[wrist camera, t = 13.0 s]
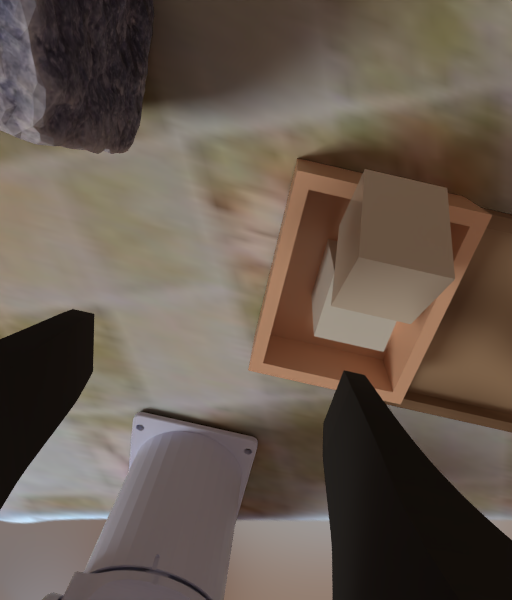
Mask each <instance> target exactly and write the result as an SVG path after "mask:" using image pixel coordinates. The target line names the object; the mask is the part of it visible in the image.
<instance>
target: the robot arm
mask: <svg viewBox="0 0 512 600" xmlns="http://www.w3.org/2000/svg"><path fill="white" fill-rule="evenodd" d="M93 345H94V314H92V313H88V312H83V311H79V310H74V309H72V310H69V311H67V312H64V313H61V314H59V315H57V316H54V317H52V318H49V319H47V320H45V321H42V322H40V323H38V324H36V325H33V326H31V327H28V328H26V329H24V330H21V331H19V332H17V333H14V334H12V335H10V336H7V337H5V338H2V339H0V509H1V508H2V506H3V504H4V503H5V501H6V499H7V498H8V496H9V494H10V493H11V491H12V490H13V488H14V486H15V485H16V483H17V481H18V480H19V479H20V477H21V476H22V474H23V473H24V471H25V470H26V468H27V467H28V466H29V464H30V463H31V462H32V460H33V459H34V458H35V456H36V455H37V454H38V452H39V451H40V450H41V448H42V447H43V446H44V444H45V443H46V442H47V440H48V439H49V438H50V436H51V435H52V434H53V432H54V431H55V430H56V428H57V427H58V426H59V424H60V423H61V422H62V420H63V419H64V418H65V416H66V415H67V414H68V412H69V411H70V409H71V408H72V407H73V405H74V404H75V403H76V401H77V399H78V398H79V396H80V394H81V392H82V391H83V389H84V387H85V385H86V383H87V382H88V380H89V378H90V376H91V374H92V372H93ZM140 425H143V426H140ZM257 446H258V441H257V439H256V438H255V437H252V436H248V435H243V434H239V433H234V432H230V431H225V430H221V429H217V428H212V427H208V426H203V425H199V424H194V423H190V422H185V421H181V420H176V419H172V418H167V417H163V416H158V415H154V414H149V413H145V412H138V413H136V414H135V416H134V419H133V427H132V439H131V450H130V462H129V472H128V474H127V476H126V479H125V481H124V483H123V485H122V488H121V490H120V492H119V494H118V496H117V499H116V501H115V503H114V505H113V508H112V510H111V512H110V514H109V516H108V519H107V521H106V523H105V525H104V528H103V530H102V532H101V534H100V536H99V539H98V541H97V543H96V545H95V548H94V550H93V552H92V554H91V557H90V559H89V561H88V563H87V566H86V568H85V570H84V572H75V573H74V575H73V577H72V579H71V581H70V583H69V586H68V588H67V590H66V592H65V594H64V595H61V594H57V593H50V594H48V595H47V596H45V597H44V598H43V599H42V600H224V593H225V587H226V581H227V574H228V567H229V560H230V554H231V547H232V540H233V534H234V527H235V523H236V520H237V516H238V513H239V509H240V506H241V502H242V499H243V495H244V492H245V488H246V485H247V482H248V478H249V475H250V471H251V468H252V464H253V461H254V457H255V454H256V450H257ZM247 449H251V450H247ZM323 464H324V474H325V483H326V493H327V502H328V511H329V520H330V530H331V541H332V569H333V570H332V571H333V572H332V573H333V575H332V578H333V579H332V581H333V600H512V540H511V539H510V538H509V537H507V536H506V535H505V534H504V533H503V532H502V531H500V530H499V529H498V528H497V527H496V526H495V525H494V524H493V523H491V522H490V521H489V520H488V519H487V518H486V517H485V516H484V515H483V514H482V513H480V512H479V511H478V510H477V509H476V508H475V507H474V506H473V505H472V504H471V503H470V502H469V501H468V500H467V499H466V498H465V497H464V496H463V495H462V494H461V493H460V492H459V491H458V490H457V489H456V488H455V487H454V486H453V485H452V484H451V483H450V482H449V481H448V480H447V479H446V478H445V477H444V476H443V475H442V474H441V473H440V472H439V470H438V469H437V468H436V467H435V466H434V465H433V464H432V463H431V462H430V460H429V459H428V458H427V457H426V456H425V454H424V453H423V452H422V451H421V450H420V448H419V447H418V446H417V445H416V444H415V442H414V441H413V440H412V439H411V437H410V436H409V435H408V434H407V432H406V431H405V430H404V428H403V427H402V426H401V424H400V423H399V422H398V420H397V419H396V418H395V416H394V415H393V414H392V412H391V411H390V409H389V408H388V407H387V405H386V404H385V402H384V401H383V400H382V398H381V397H380V395H379V394H378V393H377V391H376V390H375V388H374V387H373V385H372V384H371V383H370V381H369V380H368V378H367V377H366V376H365V375H363V374H359V373H354V372H350V371H345V370H344V371H343V373H342V376H341V379H340V381H339V384H338V386H337V389H336V392H335V394H334V397H333V400H332V402H331V405H330V408H329V410H328V413H327V415H326V418H325V421H324V425H323Z"/></svg>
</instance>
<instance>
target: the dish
mask: <svg viewBox="0 0 512 600" xmlns="http://www.w3.org/2000/svg"><path fill="white" fill-rule="evenodd" d="M362 174H363V173H360V172H355V171H351V170H347V169H342V168H338V167H334V166H329V165H325V164H321V163H316V162H312V161H308V160H303V159H299V158H297V162H296V166H295V170H294V174H293V179H292V183H291V187H290V191H289V195H288V199H287V203H286V208H285V212H284V216H283V220H282V224H281V228H280V232H279V237H278V241H277V245H276V249H275V253H274V257H273V262H272V266H271V270H270V274H269V278H268V282H267V286H266V291H265V295H264V299H263V303H262V307H261V311H260V315H259V320H258V324H257V328H256V332H255V336H254V342H253V347H252V353H251V358H250V364H249V369H248V370H249V371H254V372H258V373H263V374H267V375H271V376H276V377H280V378H285V379H289V380H294V381H298V382H303V383H307V384H311V385H316V386H320V387H325V388H329V389H334V390H336V389H337V386H338V384H339V381H340V379H341V376H342V373H343V371H344V370H345V371H350V372H354V373H359V374H363V375H365V376H366V377H367V378H368V380H369V381H370V383H371V384H372V385H373V387H374V388H375V390H376V391H377V393H378V394H379V395H380V397H381V398H382V400H383V401H387V402H392V403H396V404H400V405H401V403H402V401H403V398H404V396H405V394H406V392H407V390H408V388H409V386H410V384H411V382H412V380H413V378H414V376H415V374H416V372H417V370H418V368H419V366H420V363H421V361H422V359H423V357H424V355H425V353H426V351H427V349H428V347H429V345H430V343H431V341H432V339H433V337H434V335H435V333H436V330H437V328H438V326H439V324H440V322H441V320H442V318H443V316H444V314H445V312H446V310H447V308H448V306H449V304H450V302H451V300H452V298H453V295H454V293H455V291H456V289H457V287H458V285H459V283H460V281H461V279H462V277H463V275H464V273H465V271H466V269H467V267H468V265H469V263H470V260H471V258H472V256H473V254H474V252H475V250H476V248H477V246H478V244H479V242H480V240H481V238H482V236H483V234H484V232H485V230H486V228H487V225H488V223H489V221H490V219H491V217H492V215H491V214H490V213H488V212H487V211H485V210H484V209H482V208H480V207H479V206H477V205H476V204H474V203H473V202H471V201H469V200H468V199H466V198H465V197H463V196H460V195H455V194H451V193H448V203H449V215H450V227H451V238H452V250H453V261H454V273H455V280H454V281H453V282H452V283H451V284H450V285H449V286H448V287H447V288H446V289H445V290H444V291H443V292H442V293H441V294H440V295H439V296H438V297H437V298H436V299H435V300H434V301H433V302H432V303H431V304H430V305H429V306H428V307H427V308H426V309H425V310H424V311H423V312H422V313H421V314H420V315H419V316H418V317H417V318H416V319H415V320H414V321H413V322H412V323H411V324H408V323H403V322H399V321H397V322H396V324H395V326H394V329H393V331H392V333H391V336H390V338H389V340H388V343H387V345H386V348H385V350H384V352H382V351H377V350H373V349H369V348H364V347H360V346H355V345H351V344H346V343H342V342H337V341H333V340H328V339H324V338H320V337H315V336H314V329H313V312H312V296H311V294H312V291H313V287H314V284H315V281H316V277H317V274H318V271H319V267H320V264H321V261H322V257H323V254H324V251H325V247H326V244H327V241H328V239H330V240H335V241H338V234H339V225H340V223H341V220H342V218H343V216H344V214H345V212H346V209H347V207H348V205H349V203H350V200H351V198H352V196H353V194H354V192H355V189H356V187H357V185H358V183H359V181H360V178H361V176H362Z"/></svg>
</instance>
